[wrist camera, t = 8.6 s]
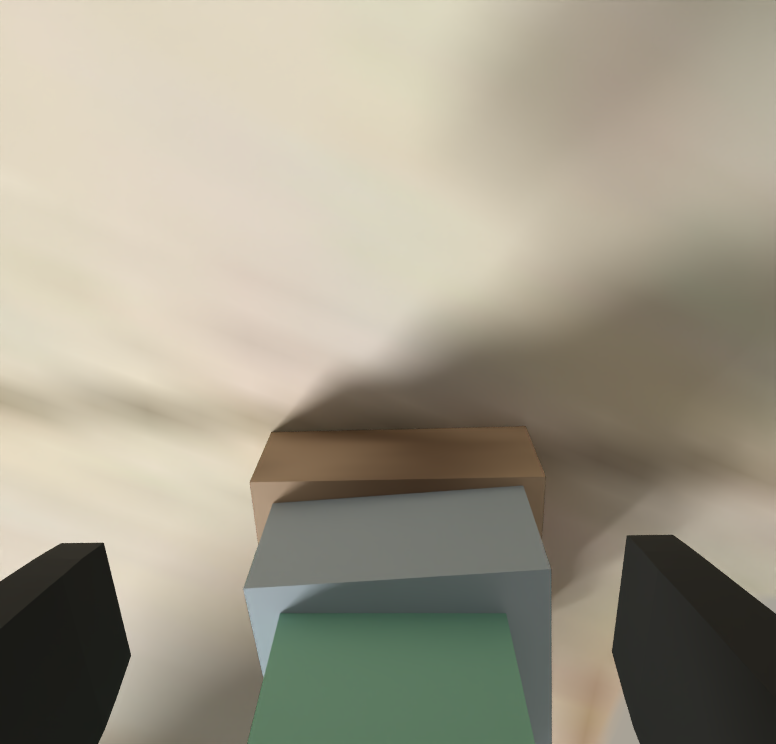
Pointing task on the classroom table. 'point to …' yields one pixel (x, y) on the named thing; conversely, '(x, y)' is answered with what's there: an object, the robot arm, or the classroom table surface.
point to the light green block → (392, 681)
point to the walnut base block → (394, 465)
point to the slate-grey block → (412, 569)
